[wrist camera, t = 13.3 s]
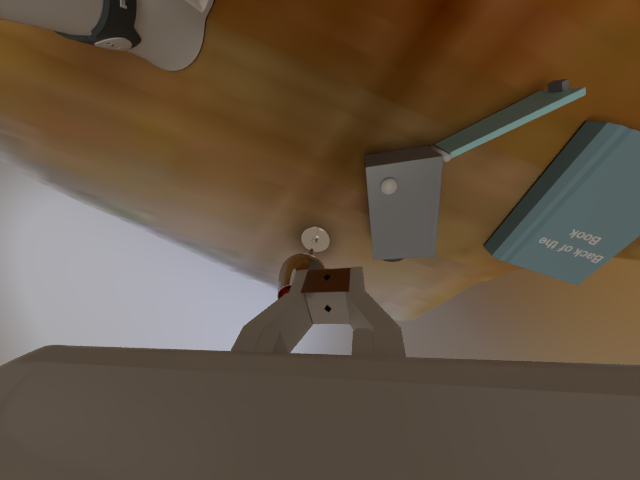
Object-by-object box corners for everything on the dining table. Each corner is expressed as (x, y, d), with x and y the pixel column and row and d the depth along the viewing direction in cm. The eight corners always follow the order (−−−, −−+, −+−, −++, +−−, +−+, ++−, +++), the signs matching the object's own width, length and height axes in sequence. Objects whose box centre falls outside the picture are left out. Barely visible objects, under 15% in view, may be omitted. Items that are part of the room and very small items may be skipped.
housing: (364, 155, 39) (365, 168, 31) (426, 145, 37) (445, 157, 29) (371, 243, 48) (374, 272, 40) (422, 240, 46) (435, 269, 38)
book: (557, 268, 45) (577, 285, 41) (481, 243, 45) (494, 258, 41) (683, 154, 33) (731, 162, 29) (581, 120, 33) (614, 122, 29)
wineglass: (329, 258, 52) (316, 322, 37) (294, 249, 52) (267, 310, 37) (337, 228, 48) (327, 286, 32) (300, 218, 48) (272, 272, 33)
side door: (428, 152, 37) (444, 163, 31) (425, 141, 37) (439, 149, 30) (539, 97, 32) (588, 95, 25) (537, 82, 31) (587, 76, 24)
